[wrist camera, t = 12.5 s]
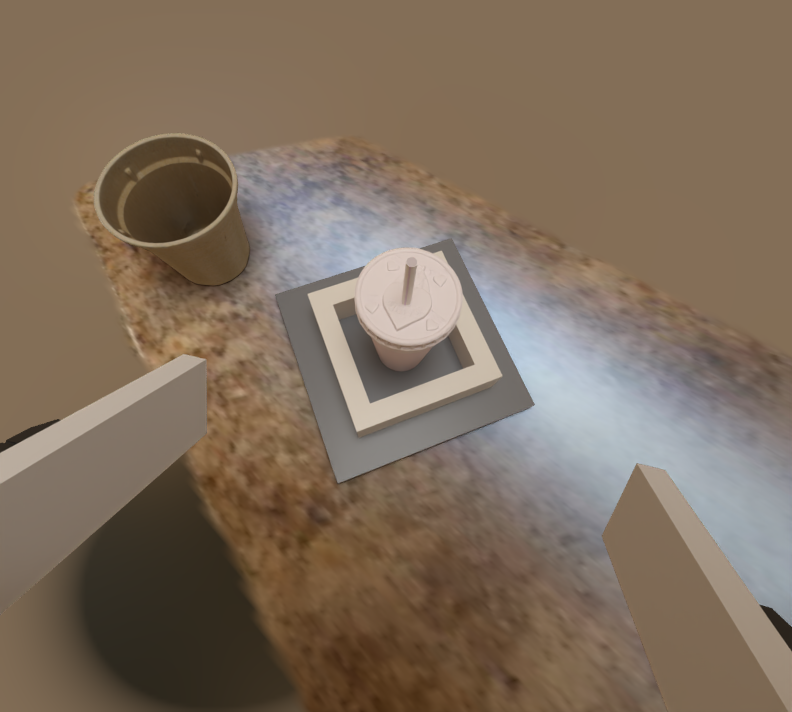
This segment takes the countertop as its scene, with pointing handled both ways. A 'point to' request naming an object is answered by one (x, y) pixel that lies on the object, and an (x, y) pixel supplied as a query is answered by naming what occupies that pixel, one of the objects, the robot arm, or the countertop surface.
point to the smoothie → (407, 304)
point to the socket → (396, 375)
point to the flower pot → (176, 205)
